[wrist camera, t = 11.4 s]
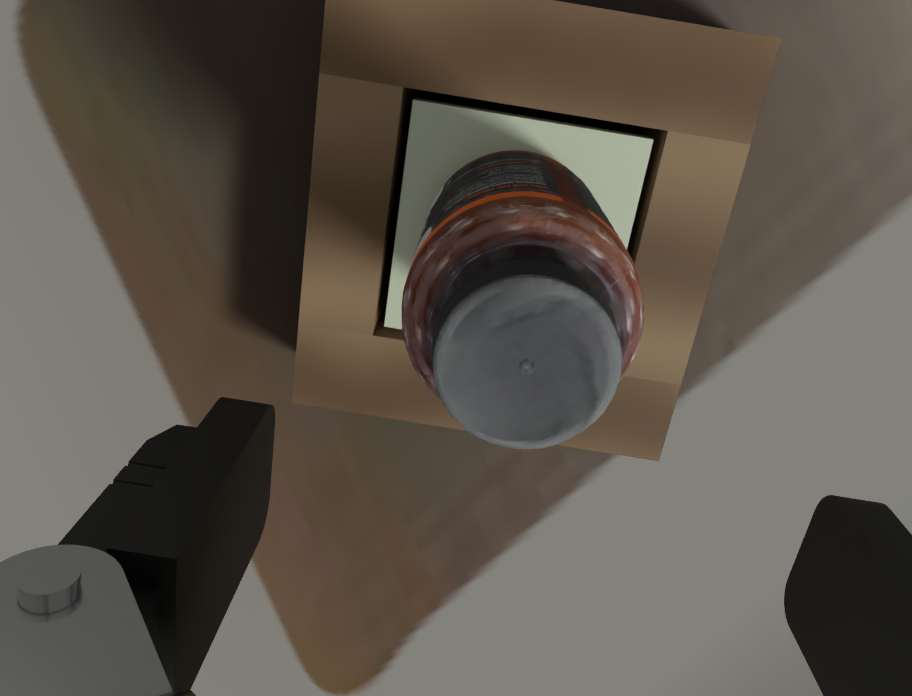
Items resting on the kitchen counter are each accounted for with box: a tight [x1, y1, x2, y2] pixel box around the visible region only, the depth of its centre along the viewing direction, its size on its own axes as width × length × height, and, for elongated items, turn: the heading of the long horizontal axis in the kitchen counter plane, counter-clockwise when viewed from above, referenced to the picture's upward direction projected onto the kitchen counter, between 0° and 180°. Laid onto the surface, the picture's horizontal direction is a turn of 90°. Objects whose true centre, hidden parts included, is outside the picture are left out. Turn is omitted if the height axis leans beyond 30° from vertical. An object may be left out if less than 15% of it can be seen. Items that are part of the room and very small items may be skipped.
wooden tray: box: [292, 0, 782, 461], centre depth 28 cm, size 15×14×4 cm
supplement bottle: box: [401, 150, 644, 449], centre depth 21 cm, size 6×6×11 cm
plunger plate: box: [384, 98, 654, 329], centre depth 27 cm, size 8×8×1 cm
